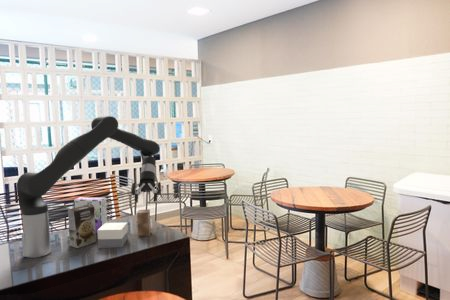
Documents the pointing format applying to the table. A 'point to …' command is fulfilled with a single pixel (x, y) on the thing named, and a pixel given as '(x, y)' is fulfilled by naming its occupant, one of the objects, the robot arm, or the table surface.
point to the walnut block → (143, 222)
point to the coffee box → (81, 226)
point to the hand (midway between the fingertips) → (145, 201)
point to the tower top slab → (112, 230)
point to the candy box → (98, 206)
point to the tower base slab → (112, 242)
